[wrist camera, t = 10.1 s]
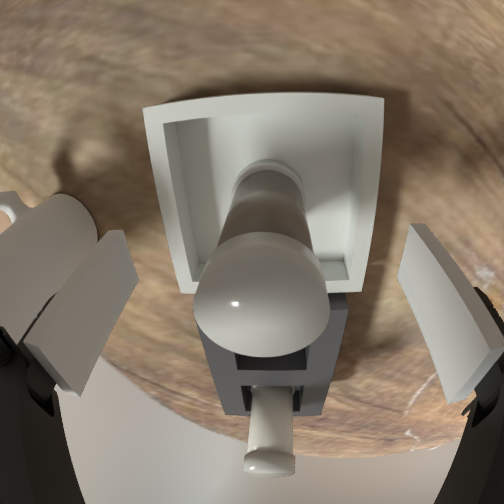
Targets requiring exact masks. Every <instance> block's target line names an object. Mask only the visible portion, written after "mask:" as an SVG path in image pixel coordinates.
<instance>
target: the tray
mask: <svg viewBox="0 0 504 504" xmlns="http://www.w3.org/2000/svg"><path fill="white" fill-rule="evenodd" d="M143 115H144V122H145V128H146V135H147V141H148V147H149V153H150V159H151V164H152V170H153V175H154V181H155V186H156V191H157V196H158V200H159V205H160V210H161V215H162V219H163V224H164V228H165V232H166V237H167V241H168V245H169V249H170V253H171V257H172V261H173V265H174V269H175V273H176V276H177V280H178V284H179V288H180V291H181V293H196V290H197V287H198V284H199V281H200V278H201V275H202V272H203V269H204V266H205V264H206V261H207V260H208V258H209V256H210V255H211V253H212V252H213V251H214V250H215V249H216V248H217V245H218V242H219V239H220V236H221V232H222V229H223V226H224V223H225V220H226V217H227V214H228V211H229V208H230V195H231V191H232V188H233V185H234V183H235V180H236V178H237V176H238V175H239V173H240V172H241V171H242V170H243V169H244V168H245V167H246V166H248V165H249V164H251V163H253V162H256V161H259V160H265V159H272V160H277V161H281V162H283V163H285V164H287V165H289V166H290V167H291V168H293V169H294V170H295V171H296V172H297V174H298V175H299V177H300V179H301V181H302V184H303V187H304V191H305V196H306V208H305V213H306V217H307V222H308V227H309V232H310V237H311V242H312V247H313V252H314V255H315V256H316V257H317V259H318V260H319V262H320V264H321V266H322V269H323V273H324V278H325V283H326V288H327V293H338V292H361V291H362V286H363V282H364V277H365V272H366V267H367V261H368V256H369V250H370V245H371V239H372V232H373V226H374V219H375V212H376V204H377V196H378V188H379V178H380V168H381V156H382V142H383V122H384V98H380V97H375V96H369V95H361V94H348V93H333V92H257V93H240V94H228V95H218V96H208V97H200V98H193V99H186V100H179V101H173V102H167V103H162V104H157V105H154V106H150V107H146V108H143Z"/></svg>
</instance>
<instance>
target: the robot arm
mask: <svg viewBox="0 0 504 504" xmlns="http://www.w3.org/2000/svg"><path fill="white" fill-rule="evenodd" d="M397 278H398V280H399V282H400V285H401V287H402V289H403V291H404V293H405V295H406V297H407V299H408V302H409V304H410V306H411V308H412V310H413V313H414V315H415V317H416V319H417V322H418V324H419V327H420V329H421V331H422V334H423V336H424V339H425V341H426V344H427V346H428V349H429V351H430V354H431V356H432V359H433V362H434V364H435V367H436V370H437V373H438V376H439V379H440V381H441V384H442V387H443V390H444V393H445V397H446V400H447V403H448V404H450V403H454V402H457V401H461V400H464V399H466V398H467V397H468V396H469V394H470V393H471V392H472V391H473V390H475V392H476V395H477V396H476V398H475V399H474V400H473V401H472V402H471V403H470V404H469V405H468V406H467V407H466V408H465V409H464V410H463V412H462V414H461V415H463V416H464V415H465V414H466V413H467V412H468V411H469V410H470V413H469V415H468V416H467V417H468V420H467V423H466V426H465V429H464V433H463V436H462V439H461V442H460V445H459V447H458V450H457V452H456V455H455V458H454V460H453V463H452V465H451V468H450V470H449V472H448V475H447V477H446V479H445V482H444V484H443V486H442V488H441V490H440V492H439V494H438V496H437V498H436V500H435V502H434V504H504V322H503V320H502V319H501V317H500V316H499V314H498V312H497V311H496V309H495V308H493V304H492V303H491V301H490V300H489V298H488V297H487V295H486V294H484V293H483V292H482V291H481V290H480V289H479V288H478V287H473V286H472V285H471V283H470V282H469V281H468V279H467V278H466V276H465V275H464V273H463V272H462V271H461V269H460V268H459V266H458V265H457V264H456V262H455V261H454V260H453V258H452V257H451V256H450V254H449V253H448V252H447V250H446V249H445V248H444V247H443V245H442V244H441V243H440V242H439V240H438V239H437V238H436V237H435V235H434V234H433V233H432V232H431V231H430V229H429V228H428V227H427V226H426V225H425V224H410V225H409V230H408V234H407V239H406V243H405V248H404V252H403V256H402V260H401V264H400V268H399V271H398V275H397ZM138 281H139V278H138V275H137V272H136V269H135V266H134V263H133V260H132V257H131V254H130V251H129V248H128V245H127V241H126V238H125V235H124V232H123V229H121V230H109V231H108V232H107V233H106V234H105V235H104V236H103V237H102V238H101V240H100V241H99V242H98V243H97V244H96V245H95V246H94V248H93V249H92V250H91V251H90V252H89V253H88V255H87V256H86V257H85V258H84V259H83V261H82V262H81V263H80V264H79V265H78V267H77V268H76V269H75V270H74V272H73V273H72V274H71V275H70V277H69V278H68V279H67V280H66V282H65V283H64V284H63V285H62V287H61V288H60V289H59V291H58V292H56V293H55V294H54V295H53V296H52V297H50V298H49V299H48V301H47V302H46V303H45V305H44V306H43V307H42V310H40V312H39V313H38V314H37V318H35V319H34V320H33V322H32V323H31V325H30V326H29V327H28V329H27V330H26V332H25V333H24V335H23V336H22V338H21V340H20V341H19V343H18V344H17V345H16V343H15V342H14V341H13V339H12V338H11V336H10V335H9V334H8V332H7V331H6V329H5V328H4V327H2V326H0V504H85V501H84V499H83V496H82V493H81V490H80V487H79V484H78V481H77V478H76V475H75V471H74V468H73V465H72V461H71V457H70V454H69V450H68V446H67V441H66V437H65V433H64V428H63V423H62V418H61V412H60V406H59V400H58V395H57V392H56V391H55V390H54V387H55V385H56V383H57V384H58V386H59V387H60V388H61V389H62V390H63V391H64V392H65V393H68V394H71V395H74V396H77V397H81V394H82V392H83V390H84V387H85V385H86V383H87V381H88V379H89V376H90V374H91V372H92V370H93V368H94V366H95V363H96V361H97V359H98V357H99V355H100V353H101V351H102V349H103V347H104V345H105V343H106V341H107V339H108V337H109V335H110V333H111V331H112V329H113V327H114V325H115V323H116V321H117V319H118V317H119V316H120V314H121V312H122V310H123V308H124V306H125V304H126V303H127V301H128V299H129V297H130V295H131V293H132V292H133V290H134V288H135V286H136V284H137V283H138Z"/></svg>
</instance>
